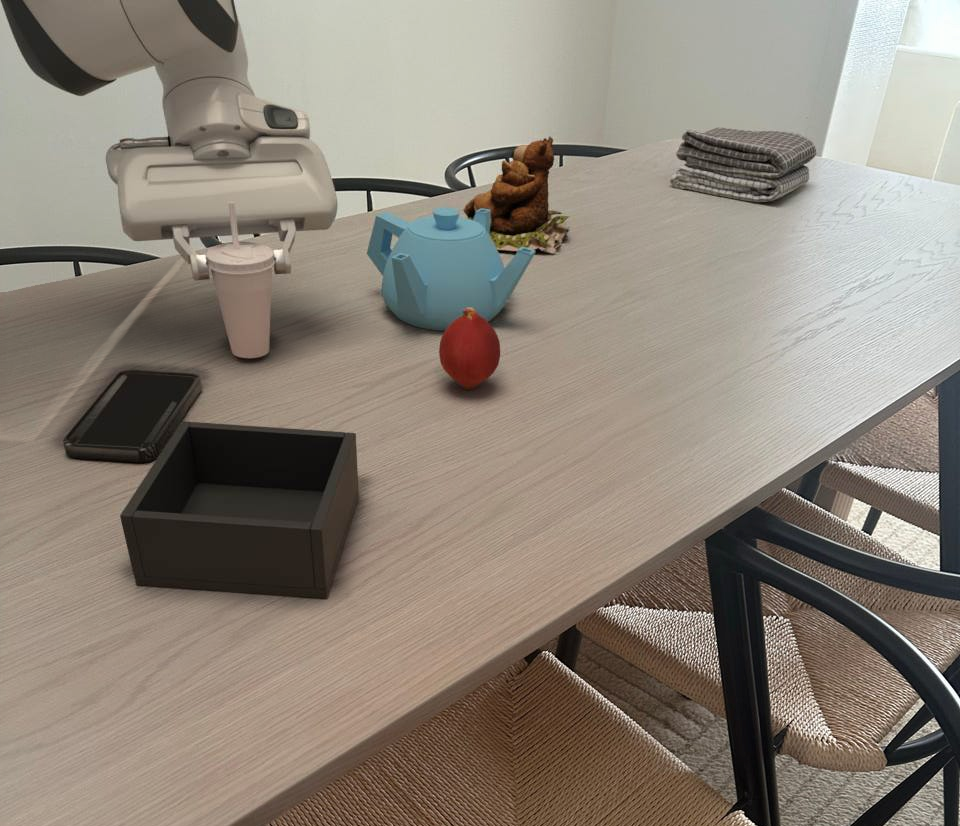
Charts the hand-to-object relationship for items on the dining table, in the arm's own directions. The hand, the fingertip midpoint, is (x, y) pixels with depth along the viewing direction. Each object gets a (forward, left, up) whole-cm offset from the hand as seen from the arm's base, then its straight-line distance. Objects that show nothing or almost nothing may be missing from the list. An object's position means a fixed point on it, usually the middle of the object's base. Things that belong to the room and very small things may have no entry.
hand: (243, 274), depth 94 cm
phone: (-7, -14, -8) cm, 18 cm away
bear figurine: (+24, +43, -9) cm, 50 cm away
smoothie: (0, +1, -8) cm, 8 cm away
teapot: (+18, +16, -9) cm, 25 cm away
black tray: (+8, -31, -8) cm, 33 cm away
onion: (+22, -3, -9) cm, 24 cm away
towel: (+58, +74, -9) cm, 94 cm away
